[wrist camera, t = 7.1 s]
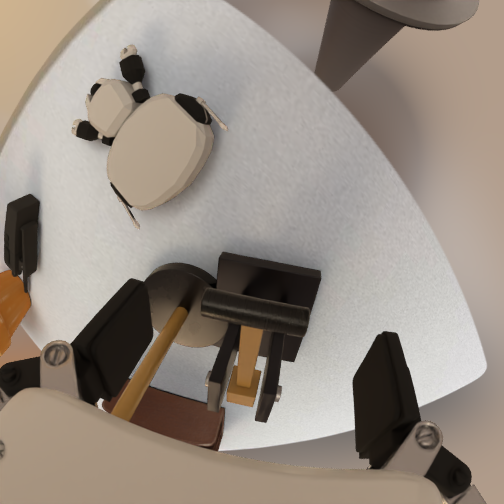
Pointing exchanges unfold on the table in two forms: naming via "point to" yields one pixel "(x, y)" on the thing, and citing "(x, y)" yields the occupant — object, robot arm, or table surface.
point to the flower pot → (11, 307)
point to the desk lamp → (172, 324)
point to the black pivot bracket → (272, 343)
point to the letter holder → (176, 417)
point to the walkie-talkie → (21, 237)
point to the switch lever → (251, 333)
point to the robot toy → (147, 136)
